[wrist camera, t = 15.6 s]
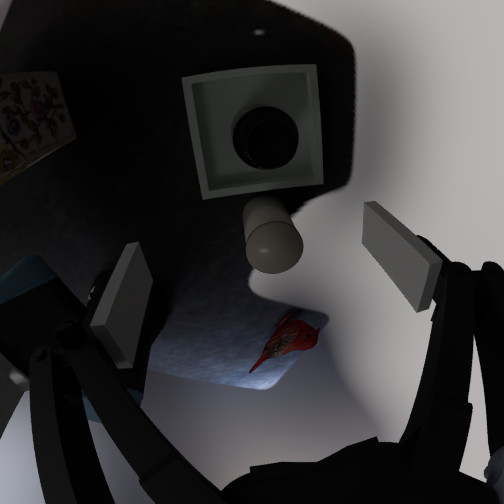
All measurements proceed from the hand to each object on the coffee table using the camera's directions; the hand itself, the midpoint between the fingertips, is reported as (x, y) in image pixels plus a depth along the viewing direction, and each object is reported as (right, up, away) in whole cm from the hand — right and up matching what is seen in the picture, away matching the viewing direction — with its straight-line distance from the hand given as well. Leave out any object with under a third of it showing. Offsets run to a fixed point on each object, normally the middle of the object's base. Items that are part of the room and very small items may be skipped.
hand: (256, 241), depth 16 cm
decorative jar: (-32, +19, +14) cm, 39 cm away
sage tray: (0, +16, +19) cm, 25 cm away
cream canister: (+2, +5, +26) cm, 26 cm away
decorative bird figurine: (+4, -15, +38) cm, 41 cm away
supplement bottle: (0, +15, +18) cm, 24 cm away
